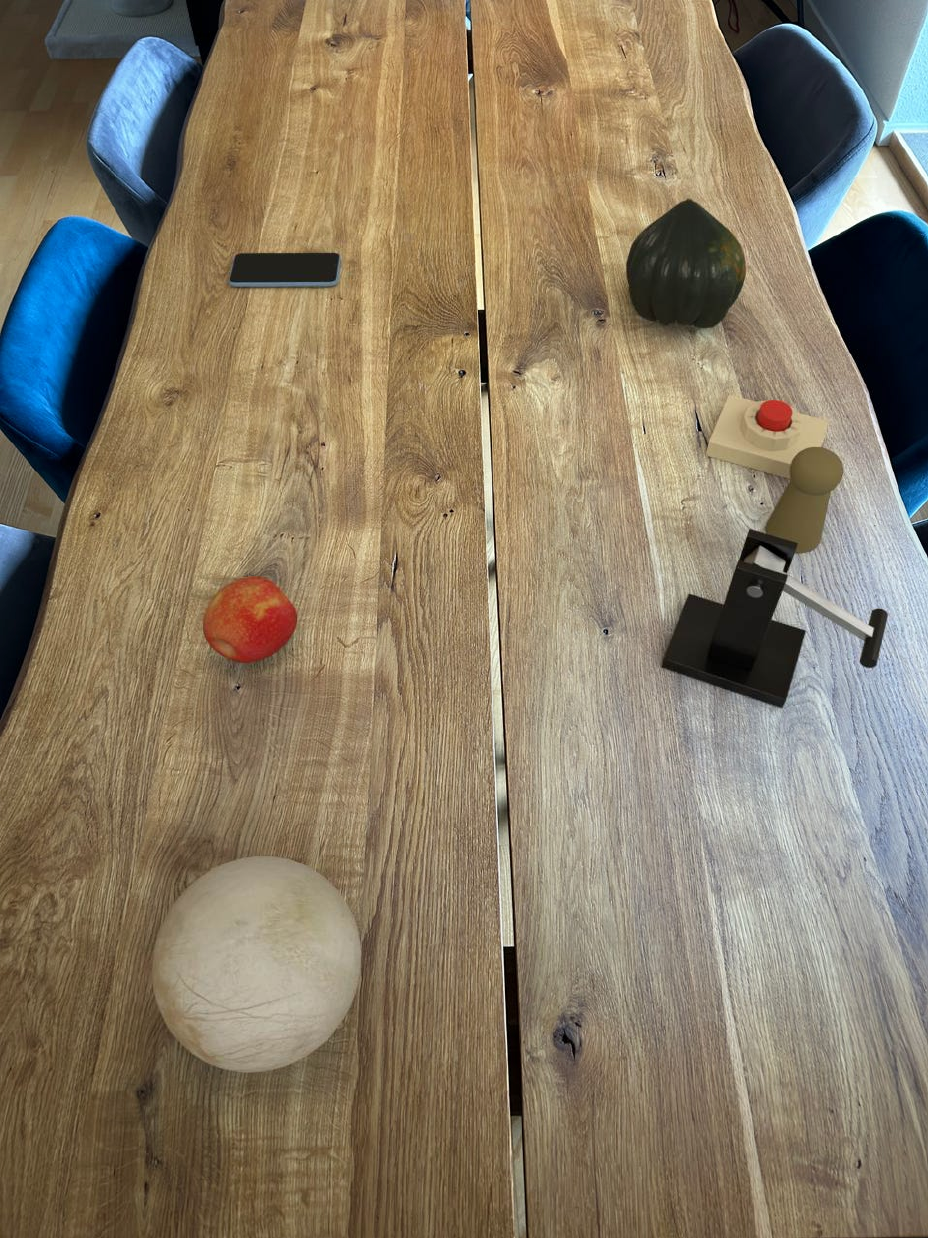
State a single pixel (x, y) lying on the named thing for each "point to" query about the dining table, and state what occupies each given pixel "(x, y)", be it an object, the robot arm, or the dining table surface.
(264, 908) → the decorative sphere
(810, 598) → the lever
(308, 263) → the smartphone
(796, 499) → the olive game pawn
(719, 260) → the squash
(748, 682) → the bracket
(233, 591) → the apple
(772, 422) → the button
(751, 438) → the control block
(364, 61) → the dining table surface
